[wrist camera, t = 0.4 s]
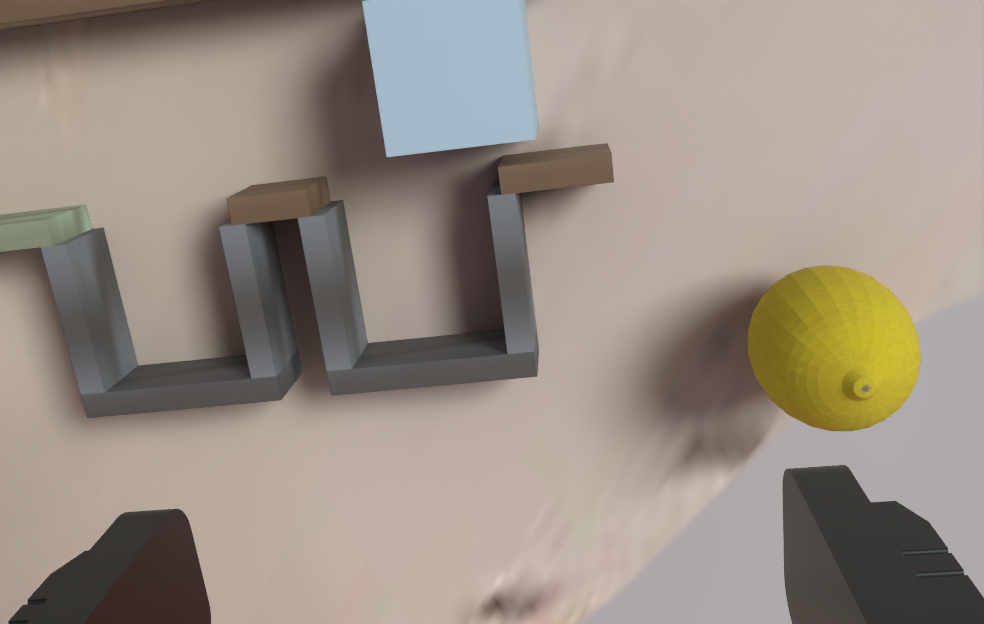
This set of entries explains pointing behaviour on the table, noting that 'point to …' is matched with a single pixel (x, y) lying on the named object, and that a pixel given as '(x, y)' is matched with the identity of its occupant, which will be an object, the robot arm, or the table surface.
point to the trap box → (280, 283)
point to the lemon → (834, 348)
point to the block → (451, 73)
